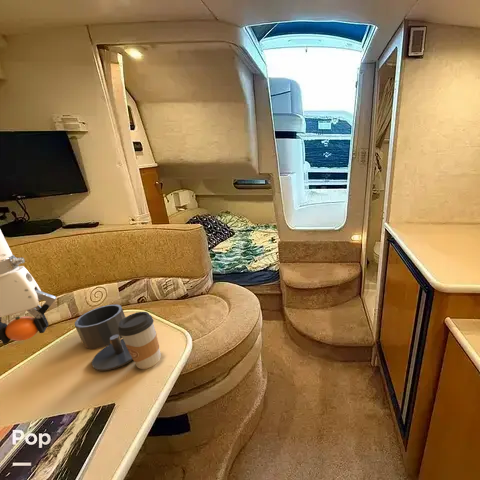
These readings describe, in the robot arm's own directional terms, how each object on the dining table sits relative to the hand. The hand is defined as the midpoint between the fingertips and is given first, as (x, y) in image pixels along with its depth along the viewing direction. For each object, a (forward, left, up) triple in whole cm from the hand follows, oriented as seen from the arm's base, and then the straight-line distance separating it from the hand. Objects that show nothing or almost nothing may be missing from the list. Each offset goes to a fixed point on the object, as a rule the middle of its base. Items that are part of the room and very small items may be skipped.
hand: (26, 334), depth 65 cm
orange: (0, 0, -1) cm, 1 cm away
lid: (+11, +10, -18) cm, 24 cm away
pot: (+2, +22, -19) cm, 29 cm away
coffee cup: (+21, +4, -19) cm, 29 cm away
